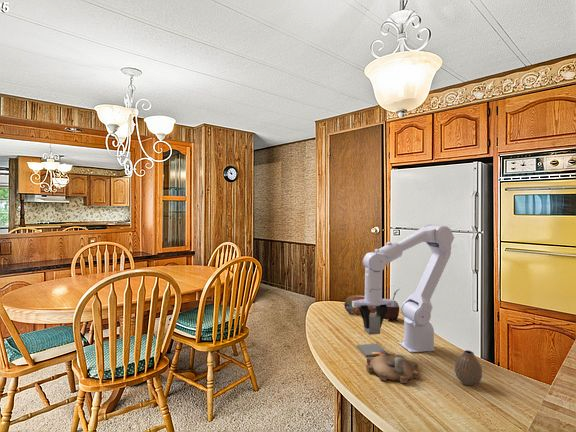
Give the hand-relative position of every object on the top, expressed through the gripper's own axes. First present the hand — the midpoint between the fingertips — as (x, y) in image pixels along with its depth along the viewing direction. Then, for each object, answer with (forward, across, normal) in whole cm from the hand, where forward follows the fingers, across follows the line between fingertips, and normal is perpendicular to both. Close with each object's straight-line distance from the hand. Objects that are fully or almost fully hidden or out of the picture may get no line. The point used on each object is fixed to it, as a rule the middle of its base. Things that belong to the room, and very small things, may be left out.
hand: (372, 327), depth 116 cm
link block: (+2, 0, 0) cm, 2 cm away
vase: (+8, -18, +24) cm, 31 cm away
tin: (+8, -12, -38) cm, 41 cm away
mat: (+8, 0, 0) cm, 8 cm away
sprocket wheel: (+8, 0, +14) cm, 16 cm away
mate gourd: (+8, -22, -28) cm, 37 cm away
